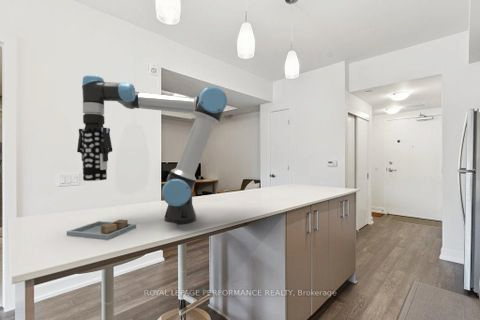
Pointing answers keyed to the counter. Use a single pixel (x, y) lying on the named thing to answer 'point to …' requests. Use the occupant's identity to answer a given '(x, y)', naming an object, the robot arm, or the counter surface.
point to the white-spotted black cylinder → (92, 156)
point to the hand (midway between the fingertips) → (95, 169)
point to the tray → (98, 231)
